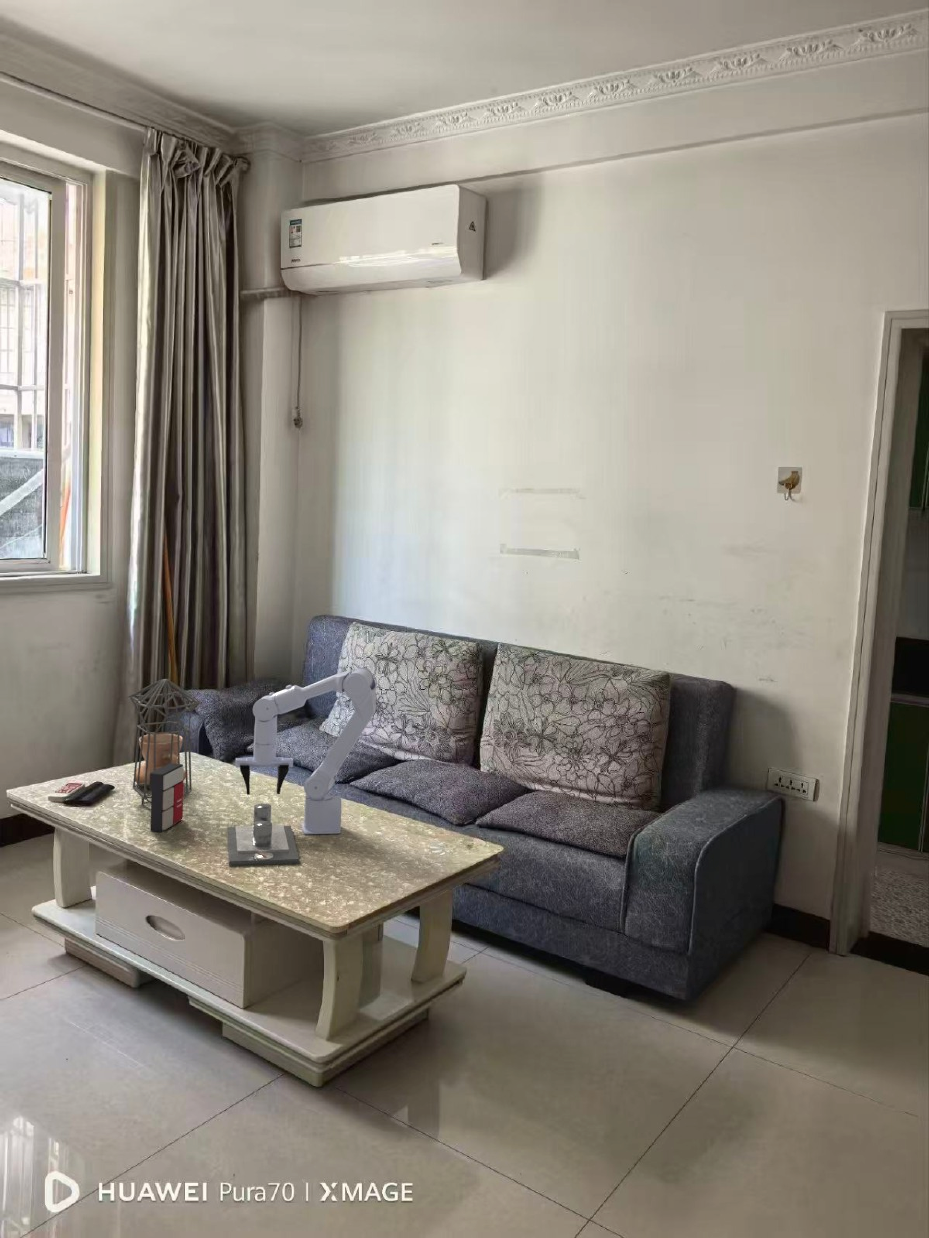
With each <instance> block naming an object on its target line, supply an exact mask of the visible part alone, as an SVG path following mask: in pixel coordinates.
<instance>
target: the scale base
mask: <svg viewBox="0 0 929 1238" xmlns="http://www.w3.org/2000/svg"><path fill="white" fill-rule="evenodd" d="M284 830H285V834H286V839H287V843H288V847H289V852H260V853H237V841H236V829H235V826H227V827H226V833H227V834H226V835H227V836H226V837H227V853H228V855H229V856H228V865H229V867H242V866H243V867H247V866H271V865H272V866H273V865H274V866H278V864H279V866H280V865H299V864H300V857H299V854H298V848H297V846H296V841H295V837H294V833H293V832H294V831H293V829H292V826H291V825H284Z"/></svg>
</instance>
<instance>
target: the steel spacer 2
mask: <svg viewBox="0 0 929 1238" xmlns="http://www.w3.org/2000/svg"><path fill="white" fill-rule="evenodd" d="M272 825H273V823H272V821H271V822H269V821H257V822H255V823H254V822H253V826H254V827H253V845H254V846H257V847H266V846H270V845H271V840H272Z"/></svg>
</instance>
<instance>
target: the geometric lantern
mask: <svg viewBox="0 0 929 1238" xmlns="http://www.w3.org/2000/svg"><path fill="white" fill-rule="evenodd" d="M161 691H162V693H161ZM167 691H169V693H168V692H167ZM144 692H146V693H144ZM142 693H144V695H143V694H142ZM160 693H161V694H160ZM140 694H142V695H140ZM177 694H179V695H181V697H182V700H183V704H182V705H179V704H178V702H177V700H176V697H175V696H177ZM168 696H170V697H169V698H168ZM158 697H160V698H161V699H160V704H158V705H156V704H155V703H156V701H157V700H158ZM129 698H130V701H131V702H132V704H133V706H134V713H135V714H136V713H137V715H139V721H140V724H138V725H136V727H137V736H136V737H137V738H136V746H135V747H136V748H135V761H134V772H133V781H132V783H133V784H132V789H133V791H135V792H136V793H137V794H138V795H139V796H140V798H141V805H140V806H142V807H144V808H145V809H147V810H149V811H151V807H149V806H147V805H145V804H151V800H150V799H151V793H150V794H147V788H146V785H149V783H147V771H148V759H149V746H150V734H152V735H154V770H153V771H155V770H156V734H171V750H170V763H172V750H173V734H176V735H177V741H178V757H177V758H178V764H181V759H180V758H181V756H180V755H181V749H180V741H179V736H180V733H183V737H184V738H183V739H184V740H183V744H184V745H183V747H184V770H185V776H186V778H185V784H184V788H185V792H184V793H183V799H184V798H185V797H186V796H188V795H189V794H190V793H192V789H193V787H192V785H193V784H192V761H191V759H192V758H191V757H192V756H191V755H192V754H191V730H190V729H191V715H192V712H193V711H194V710H196V708H197V707H199V705H200V704H202V701H200V700H199V699H198V698H196V697H194V696H193V694H190V693H189V692H187V691H186V690H184V689H183V688H182V687H180V686H179V685H177V684H176V683H174V682H173V681H171V680H170V679H168V678H164V679H160V680H158V681H155V682H153V683H152V684H150V685H148V686H146V687H144V688H142V689H140V690H138V691H136V692H134V693H131V695H128V696H126V699H129ZM154 698H155V699H154ZM147 699H149V700H148V701H146V700H147ZM153 700H154V701H153ZM163 700H164V703H163ZM171 700H173V703H174V705H175V706H168V703H169V702H170V701H171ZM143 703H144V704H143ZM140 706H141V707H143V709H142V711H140ZM161 708H162V709H164V711H165V713H164V712H163V711H162V710H160V709H161ZM181 708H183V710H182V711H181V712H179V713H178V709H181ZM151 709H153V710H155V711H156V712H158V713H159V714H160V715H162V716H164V717H165V719H164V720H163V721H162V722H161V721H160V722H150V723H146V720H147V717H148V715H149V712H150V710H151ZM146 710H147V711H146ZM168 710H175V715H174V714H173V715H171V714H170V712H169V711H168ZM145 711H146V713H145V715H144V717H143V714H144V712H145ZM186 712H189V716H188V717H189V718H188V727H186V726H185V725H183V723H182V722H183V721H182V720H181V719H182V718H183V716H184V714H185V713H186ZM174 718H177V721H176V720H175V719H174ZM167 719H171V720H172V721H167ZM169 723H170V724H171V731H167V732H166V731H164V732H158V731H159V730H160V728H161V727H162V726H163V725H164V724H169ZM159 724H160V725H159ZM150 725H159V726H158V728H157V729H156V730H155V731H154V732H151V731H149V729H148V726H150ZM175 725H176V727H177V729H176V731H174V730H175V729H174V728H175ZM180 726H181V728H182V730H180ZM140 733H141V734H140ZM145 734H146V735H148V744H147V757H146V762H145V763H146V770H145V783H143V784H139V778H140V768H141V766H142V759H143V755H142V748H143V738H144V735H145ZM140 735H141V736H140ZM140 737H141V747H140V745H139V738H140ZM187 740H188V741H187ZM187 744H188V745H187ZM187 746H188V751H187ZM139 749H140V750H139ZM187 755H188V756H187ZM138 757H139V758H138ZM137 766H138V768H137ZM137 769H138V778H137V783H136V782H135V781H136V770H137ZM142 785H144V787H143V786H142ZM140 787H143V792H142V790H141V789H140ZM145 800H146V801H145Z"/></svg>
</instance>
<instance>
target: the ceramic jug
mask: <svg viewBox="0 0 929 1238" xmlns="http://www.w3.org/2000/svg"><path fill="white" fill-rule="evenodd" d="M141 737H142V736H139V748H140V747H141ZM183 739H184V738H183V736H181V735H179V741H180V750H181V748H182V746H183V742H184V740H183ZM147 744H148V734H146V735H145V734H144V738H143V748H142V758H143V759H144V762H145V763H144V764H141V768H140V778H139V784H143V783H145V770H146V757H147ZM170 750H171V733H168V734H156V770H157V769H159V768H161V767H163V766H165V765H167V764H169V763H170ZM172 763H176V764H178V741H177V734H175V733H173V750H172ZM153 770H154V735H152V734H150V746H149V759H148V771H147V783H150V773H151V772H153ZM137 778H138V768H137V770H136V781H135V784H137ZM184 781H186V776H185V769H184V770H183V782H184ZM141 787H143V788H144V785H142V786H141ZM146 789H150V788H149V785H146Z"/></svg>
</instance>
